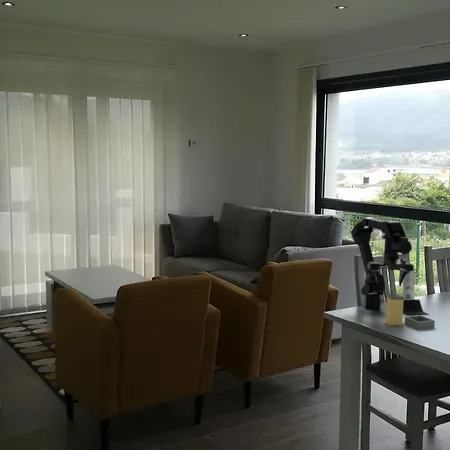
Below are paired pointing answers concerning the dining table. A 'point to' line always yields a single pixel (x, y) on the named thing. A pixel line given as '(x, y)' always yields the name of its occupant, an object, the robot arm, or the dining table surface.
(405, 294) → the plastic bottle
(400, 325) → the pad
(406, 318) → the case
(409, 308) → the black wedge stand
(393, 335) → the dining table surface
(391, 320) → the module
